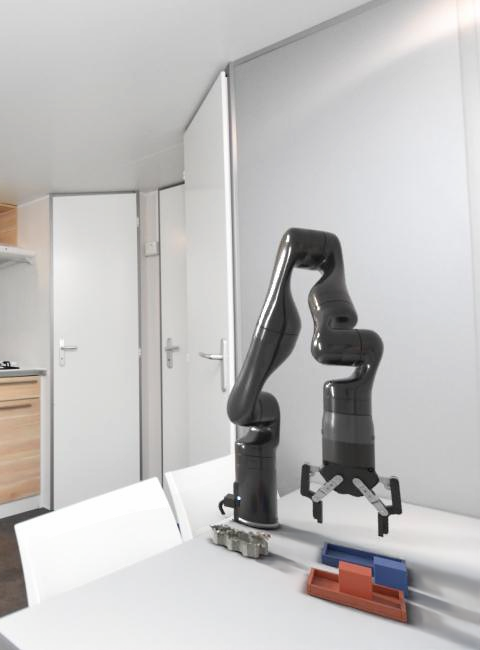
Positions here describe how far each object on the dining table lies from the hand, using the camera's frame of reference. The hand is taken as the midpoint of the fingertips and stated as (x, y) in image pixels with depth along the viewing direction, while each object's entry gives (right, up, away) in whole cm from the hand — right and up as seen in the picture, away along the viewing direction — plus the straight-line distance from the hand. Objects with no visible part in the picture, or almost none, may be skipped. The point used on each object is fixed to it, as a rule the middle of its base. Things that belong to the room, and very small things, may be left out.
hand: (349, 528), depth 85 cm
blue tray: (+12, -13, +12) cm, 21 cm away
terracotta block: (0, -11, -1) cm, 11 cm away
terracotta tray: (0, -12, -1) cm, 12 cm away
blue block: (+10, -12, +2) cm, 16 cm away
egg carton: (-9, -13, +19) cm, 25 cm away
